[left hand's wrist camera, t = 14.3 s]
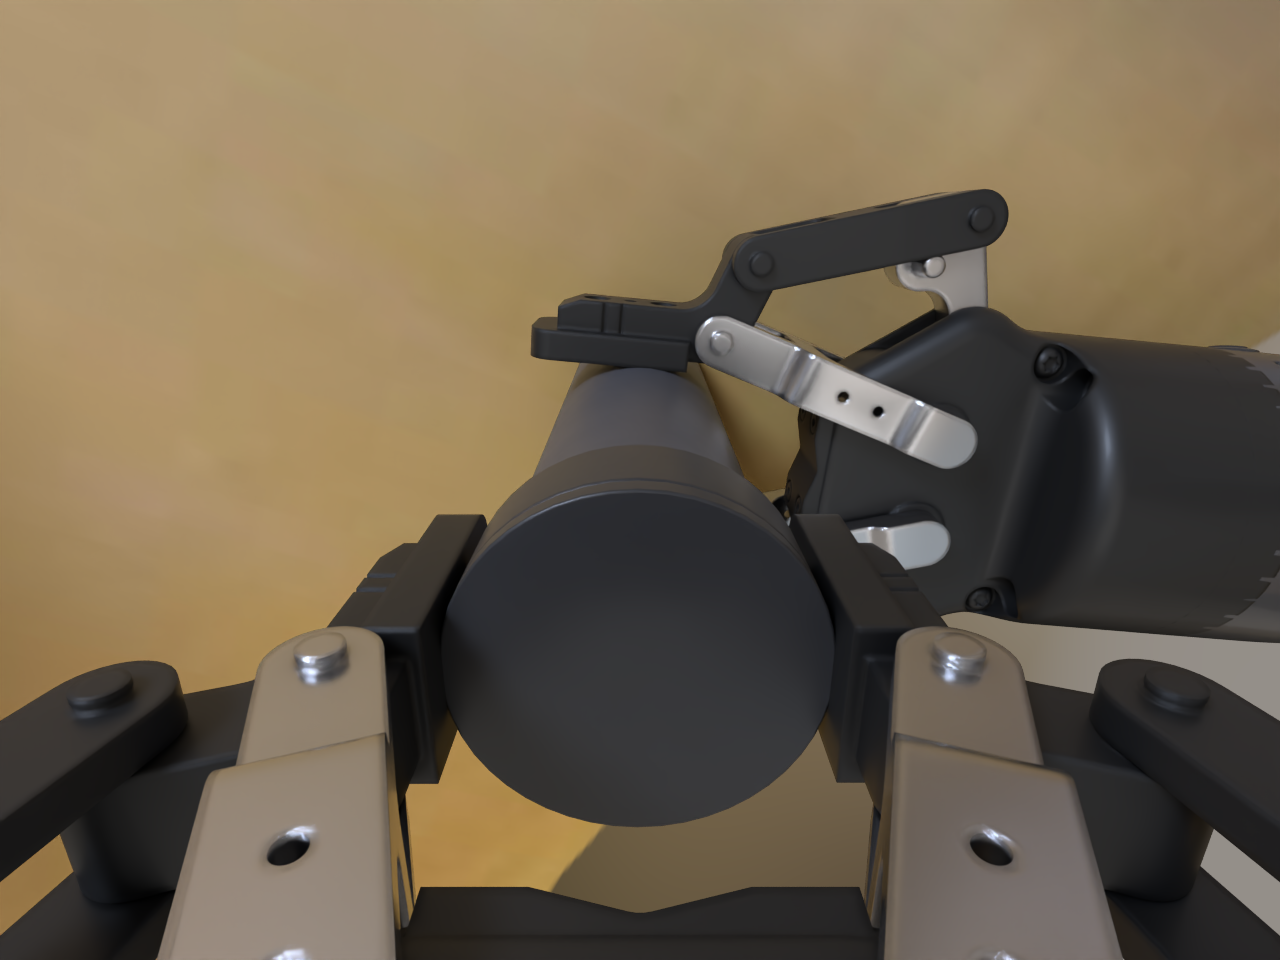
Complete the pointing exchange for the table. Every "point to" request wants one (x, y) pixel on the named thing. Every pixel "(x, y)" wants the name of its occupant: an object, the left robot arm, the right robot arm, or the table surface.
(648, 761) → the lid
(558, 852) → the table surface
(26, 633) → the table surface
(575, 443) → the grey cylindrical tube
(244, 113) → the table surface
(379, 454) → the table surface
